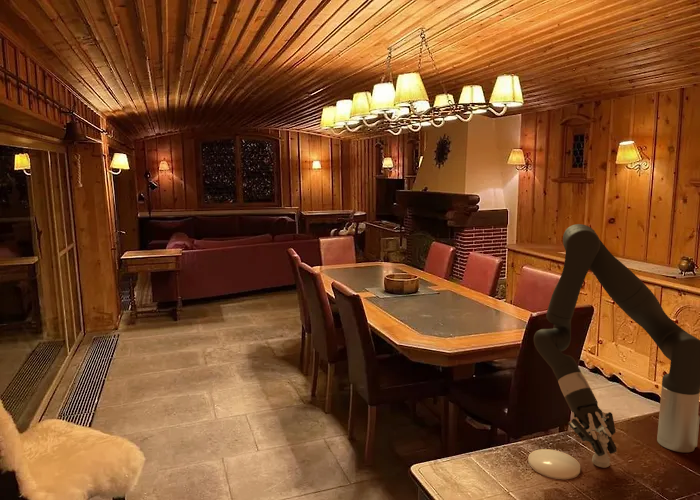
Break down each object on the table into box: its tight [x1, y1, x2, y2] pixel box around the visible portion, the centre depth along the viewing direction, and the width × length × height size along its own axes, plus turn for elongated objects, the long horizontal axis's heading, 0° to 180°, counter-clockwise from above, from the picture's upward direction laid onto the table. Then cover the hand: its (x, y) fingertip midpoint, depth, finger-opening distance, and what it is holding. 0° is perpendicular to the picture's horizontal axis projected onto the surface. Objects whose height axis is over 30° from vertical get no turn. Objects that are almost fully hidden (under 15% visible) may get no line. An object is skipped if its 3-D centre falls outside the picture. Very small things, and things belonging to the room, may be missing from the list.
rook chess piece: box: [591, 433, 611, 469], centre depth 136 cm, size 4×4×8 cm
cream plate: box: [527, 448, 581, 480], centre depth 136 cm, size 13×13×1 cm
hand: (607, 453), depth 134 cm, fingers closed on rook chess piece, 3 cm apart
